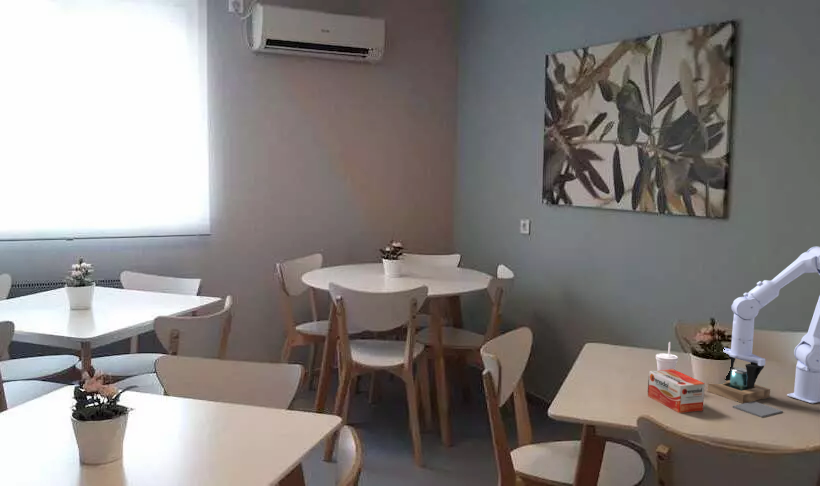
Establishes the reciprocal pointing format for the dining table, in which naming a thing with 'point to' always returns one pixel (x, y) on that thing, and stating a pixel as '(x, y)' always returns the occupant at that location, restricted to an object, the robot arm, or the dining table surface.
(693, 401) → the medicine box
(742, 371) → the teal can
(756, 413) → the mat
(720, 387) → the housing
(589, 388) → the dining table surface
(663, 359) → the smoothie
